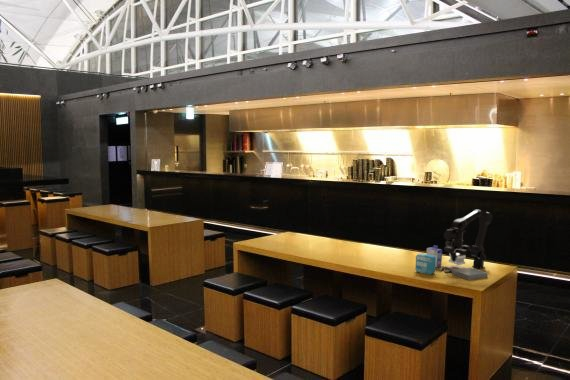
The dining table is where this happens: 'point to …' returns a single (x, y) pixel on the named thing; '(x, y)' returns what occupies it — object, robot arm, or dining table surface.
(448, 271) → the bolt
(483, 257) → the robot arm
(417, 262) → the data package
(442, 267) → the bolt
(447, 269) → the stand
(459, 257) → the block
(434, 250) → the ink cartridge box
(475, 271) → the stand
